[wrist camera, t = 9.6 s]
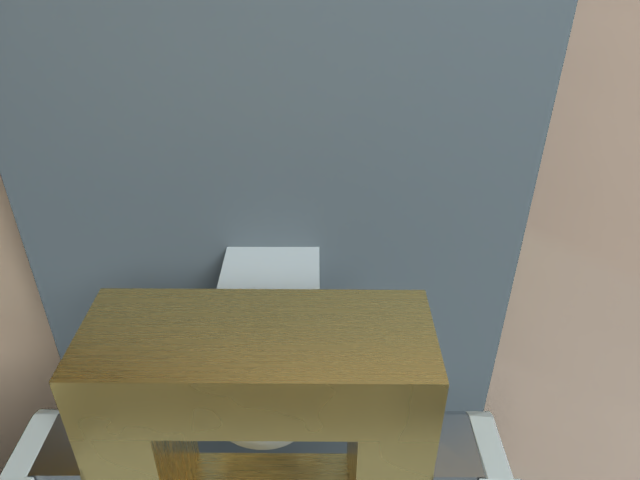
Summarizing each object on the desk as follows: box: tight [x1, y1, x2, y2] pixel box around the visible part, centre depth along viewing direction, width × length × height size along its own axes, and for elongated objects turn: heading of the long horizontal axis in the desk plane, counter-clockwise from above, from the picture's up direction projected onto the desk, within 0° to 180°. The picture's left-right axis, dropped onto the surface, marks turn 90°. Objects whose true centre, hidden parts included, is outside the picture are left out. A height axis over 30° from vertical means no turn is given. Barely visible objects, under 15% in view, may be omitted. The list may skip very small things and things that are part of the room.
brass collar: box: [49, 288, 449, 480], centre depth 12 cm, size 6×6×2 cm
